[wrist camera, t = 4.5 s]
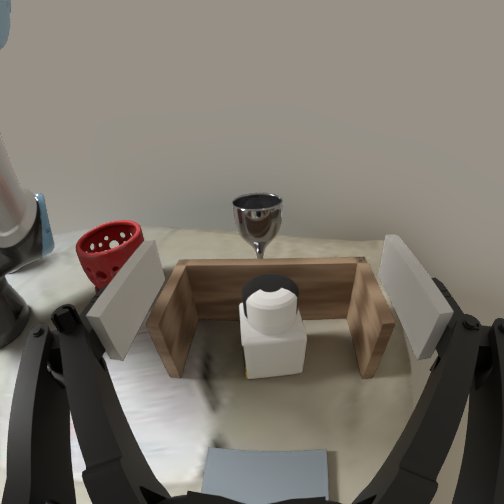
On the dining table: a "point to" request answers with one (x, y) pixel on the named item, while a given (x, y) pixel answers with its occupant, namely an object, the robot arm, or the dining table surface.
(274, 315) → the medicine bottle
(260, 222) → the wine glass
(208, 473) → the grey pad
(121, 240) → the plant pot
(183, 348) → the walnut bay
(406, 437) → the robot arm
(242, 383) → the dining table surface
